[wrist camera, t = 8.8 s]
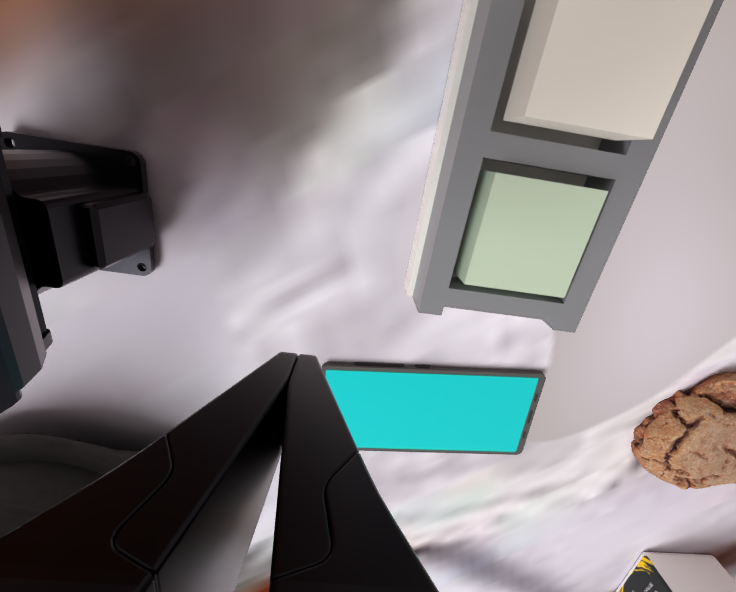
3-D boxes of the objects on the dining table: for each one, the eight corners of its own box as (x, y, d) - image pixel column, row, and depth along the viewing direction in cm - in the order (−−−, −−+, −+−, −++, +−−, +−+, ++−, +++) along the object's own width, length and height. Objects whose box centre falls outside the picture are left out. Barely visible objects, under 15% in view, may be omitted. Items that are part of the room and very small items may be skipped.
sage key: (543, 282, 18) (564, 298, 16) (453, 270, 18) (464, 284, 16) (580, 186, 16) (608, 191, 14) (480, 169, 16) (495, 172, 14)
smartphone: (521, 455, 26) (320, 449, 25) (516, 445, 26) (321, 440, 26) (547, 373, 23) (321, 364, 22) (541, 366, 23) (322, 357, 23)
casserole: (3, 586, 31) (-112, 728, 24) (-146, 435, 24) (-386, 571, 16) (270, 555, 30) (240, 693, 23) (200, 390, 23) (121, 511, 15)
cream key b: (615, 140, 14) (652, 139, 13) (502, 120, 14) (524, 116, 12) (674, -8, 12) (729, -35, 11) (545, -36, 12) (579, -70, 10)
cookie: (612, 413, 25) (643, 445, 22) (766, 344, 23) (821, 370, 20) (647, 489, 29) (677, 525, 26) (783, 435, 26) (833, 468, 24)
